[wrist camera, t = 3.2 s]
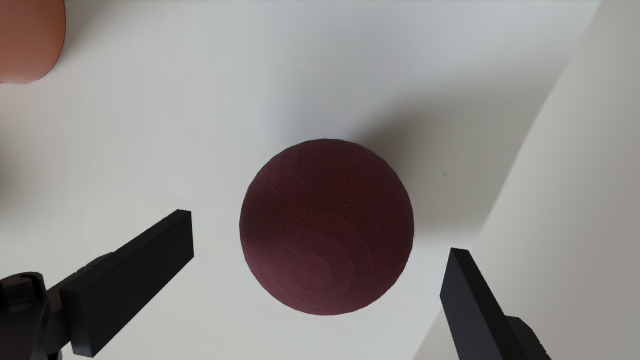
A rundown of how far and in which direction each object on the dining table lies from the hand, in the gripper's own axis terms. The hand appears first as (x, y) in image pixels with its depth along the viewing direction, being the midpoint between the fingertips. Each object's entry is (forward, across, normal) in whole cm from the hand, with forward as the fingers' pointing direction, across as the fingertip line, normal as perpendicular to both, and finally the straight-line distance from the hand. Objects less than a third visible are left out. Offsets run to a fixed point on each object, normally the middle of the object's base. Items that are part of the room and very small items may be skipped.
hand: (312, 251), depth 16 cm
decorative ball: (+8, 0, 0) cm, 8 cm away
